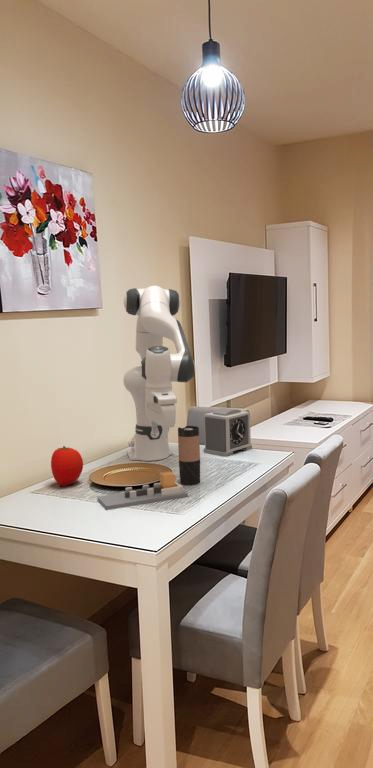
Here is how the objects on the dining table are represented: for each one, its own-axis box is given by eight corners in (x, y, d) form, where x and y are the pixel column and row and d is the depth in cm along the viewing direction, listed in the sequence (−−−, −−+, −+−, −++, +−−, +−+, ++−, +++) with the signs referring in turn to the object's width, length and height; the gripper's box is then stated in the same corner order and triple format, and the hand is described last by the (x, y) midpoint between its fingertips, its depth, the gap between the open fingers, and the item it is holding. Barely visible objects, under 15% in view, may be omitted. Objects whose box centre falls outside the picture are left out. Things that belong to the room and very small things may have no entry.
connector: (171, 488, 214) (170, 471, 213) (175, 491, 210) (174, 474, 209) (123, 495, 207) (122, 478, 207) (127, 499, 204) (126, 481, 203)
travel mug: (198, 486, 220) (196, 430, 217) (177, 485, 221) (175, 430, 218) (202, 479, 227) (200, 425, 224) (182, 479, 229) (180, 425, 226)
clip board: (97, 500, 208) (97, 489, 207) (175, 487, 218) (175, 477, 218) (106, 509, 198) (105, 498, 197) (187, 496, 208) (187, 486, 208)
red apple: (61, 478, 235) (59, 441, 233) (89, 479, 232) (87, 442, 230) (45, 488, 223) (43, 449, 221) (74, 490, 220) (72, 450, 218)
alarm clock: (226, 457, 258) (225, 413, 256) (202, 452, 267) (201, 410, 265) (253, 448, 272) (252, 407, 269) (229, 444, 281) (228, 404, 278)
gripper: (140, 391, 216) (141, 430, 218) (160, 400, 198) (161, 443, 200) (157, 390, 219) (158, 428, 221) (178, 399, 200) (179, 441, 202)
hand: (159, 435), depth 210 cm, fingers open, 8 cm apart
